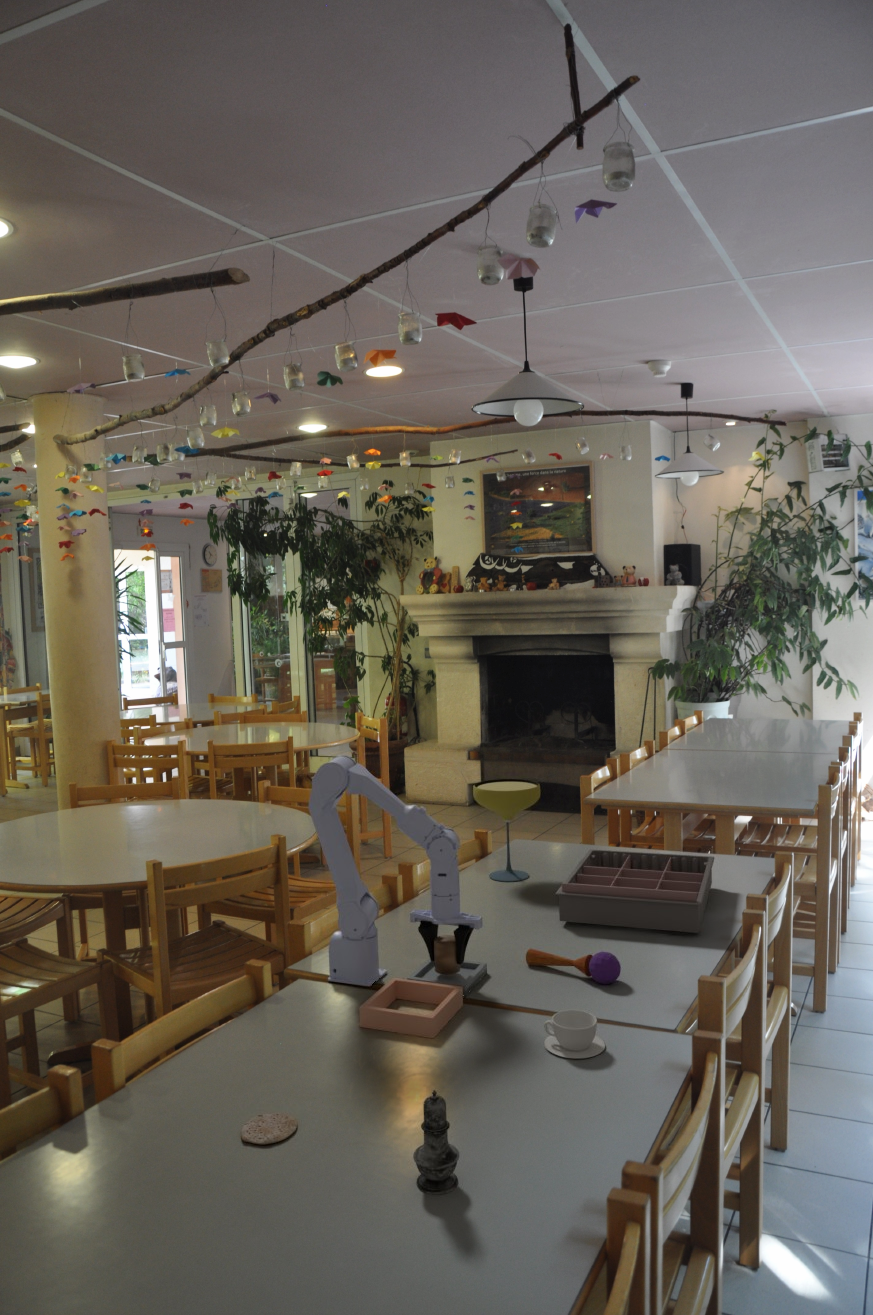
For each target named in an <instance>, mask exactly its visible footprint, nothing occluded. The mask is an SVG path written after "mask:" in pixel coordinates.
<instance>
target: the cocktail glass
mask: <svg viewBox="0 0 873 1315" xmlns="http://www.w3.org/2000/svg"><path fill="white" fill-rule="evenodd" d="M472 794H473V796H472V797H473V799H474V800H475V802H477V804H478V805H480V806H481V807H483V808H485V809H487V810H489V811H491V812H494V813H495V814H496V815H498V816H499V817H500V819H501V820H503V822H505V823H506V868H505V869H500V870H495V871H492V872H491V873H489V874H488V876H489V878H490V879H491V880H493V881H497V882H501V883H502V882H505V883H512V882H513V883H515V882H521V881H525V880H527V879H528V878H530V874H529V873H528V872H526V871H523V870H519V869H512V863H511V855H510V854H511V853H510V851H511V850H510V849H511V848H510V827H509V826H510V824H509V823H510V822H512V820H513V819H514V818H515V817H516V816H517V815H518V814H519V813H520V812H523V811H524V810H527V809H528V808H530V807H532V806H533V805H535V804H536V803H537V802H538V801H539V799H540V798H541V786H540V783H539V782H537V781H535V780H530V779H523V778H522V779H521V778H520V779H519V778H496V779H495V778H494V779H487V780H482V781H478V782H476V783H474V785H473V789H472Z"/></svg>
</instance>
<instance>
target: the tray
mask: <svg viewBox="0 0 873 1315" xmlns="http://www.w3.org/2000/svg"><path fill="white" fill-rule="evenodd" d="M487 973H488V964H487V962H483V961H482V962H480V961H472V960H465V959H464V962H463V963H462V964H460V971H459V972H457V973H455V974H449V975H445V974H439V973H437V972H435V961H431V960H430V957H428V959H426V961H424V962H423V963H422V964H421V965H420V966H419V967H418V968H416V969H415V971H413V972H412V973H411V974H410V975H409V976H407V978H406V979H407V980H415V981H423V982H430V983H438V984H445V985H453V986H460V987H462V989H463V995H464V996H463V997H467V996H468V995H469V993H470V992H471V991H472V990H473V989H474V988H475V987H476V986H477V985H478V983H480V981H481V980H482V979H483V978H484V977H485V976H486V975H487ZM485 974H486V975H485ZM484 975H485V976H484ZM483 976H484V977H483ZM482 977H483V978H482ZM481 978H482V979H481ZM480 979H481V980H480ZM477 982H478V983H477ZM475 985H476V986H475ZM474 986H475V987H474ZM473 987H474V988H473ZM472 988H473V989H472ZM471 989H472V990H471ZM470 990H471V991H470ZM469 991H470V992H469Z"/></svg>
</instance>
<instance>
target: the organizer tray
mask: <svg viewBox="0 0 873 1315" xmlns="http://www.w3.org/2000/svg"><path fill="white" fill-rule="evenodd" d="M714 861H715V856H712V855H711V856H709V855H692V854H691V855H690V854H677V853H659V852H657V853H656V852H655V853H654V852H644V851H643V852H640V851H625V850H623V851H622V850H608V849H607V850H605V849H589V850H588V851H587V852H586V854H585V855H584V856H583V858H582V859H581V860H580V861H579V862H578V864H576V866H575V867H574V869H573V870H572V871H571V873H570V874H568V877H567V878H566V879H565V880H564V882H562V883H561V886H560V887H559V888H558V890H557V891H556V892H555V895H557V896H558V906H559V907H558V909H559V910H558V911H559V922H567V923H569V922H570V923H579V924H592V925H604V926H613V927H626V928H637V929H638V928H639V929H646V930H647V929H648V930H649V929H650V930H658V931H659V930H660V931H661V930H662V931H670V932H673V931H674V932H685V933H694V934H696V933H697V934H699V933H700V929H701V925H702V921H703V918H704V914H705V911H706V907H707V903H708V899H709V896H710V893H711V892H710V891H711V888H712V885H713V884H712V883H713V876H712V874H713V873H712V871H713V870H712V868H713V866H714V865H713V864H714Z"/></svg>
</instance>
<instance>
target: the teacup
mask: <svg viewBox="0 0 873 1315" xmlns="http://www.w3.org/2000/svg"><path fill="white" fill-rule="evenodd" d="M597 1024H598V1020H597V1017H596V1016H595V1015H594V1014H593V1013H590V1012H589V1011H584V1010H581V1009H567V1010H561V1011H558V1012H556V1013H554V1014H553V1015H552V1016H551V1019H548V1020H546V1021H544V1026H543V1028H544V1031H545V1033H546V1034H547V1035H549V1036H547V1037H545V1040H544V1042H543V1043H544V1044H543V1045H544V1047H545V1050H547V1051H548V1052H550V1053H552V1054H553V1055H556V1056H558V1057H562V1058H567V1059H587V1058H592V1057H595V1056H597V1055H599V1054H601V1053H602V1052H604V1050H605V1048H606V1042H605V1040H603V1039H602V1038H601V1037H600V1036H598V1035H596V1032H597ZM548 1025H550V1026H551V1028H552V1030H551V1029H549V1027H548Z"/></svg>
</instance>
